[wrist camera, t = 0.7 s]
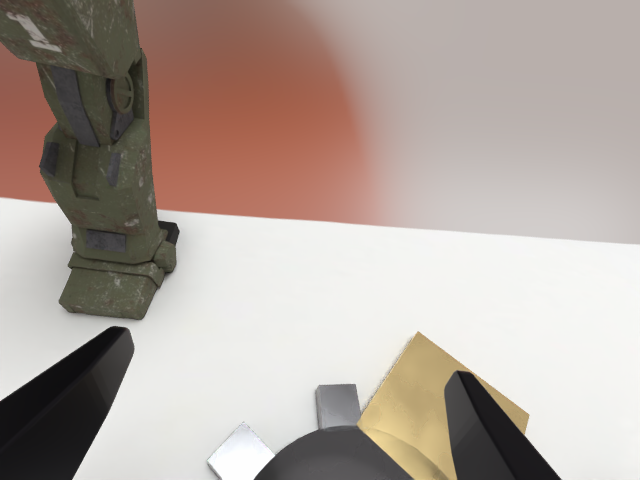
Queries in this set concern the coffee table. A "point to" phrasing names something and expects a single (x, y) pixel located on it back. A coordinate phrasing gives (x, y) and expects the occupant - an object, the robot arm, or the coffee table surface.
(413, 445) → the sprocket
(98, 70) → the mechanical leg
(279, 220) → the coffee table surface
